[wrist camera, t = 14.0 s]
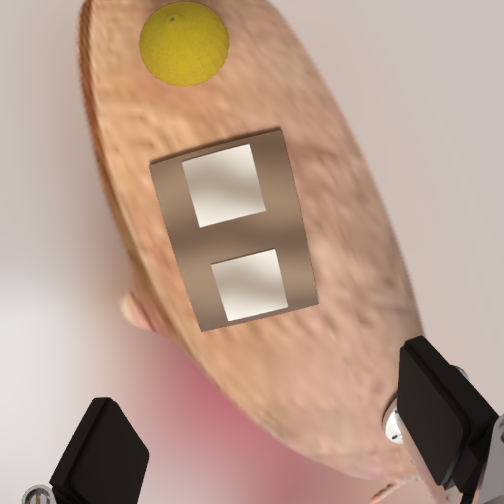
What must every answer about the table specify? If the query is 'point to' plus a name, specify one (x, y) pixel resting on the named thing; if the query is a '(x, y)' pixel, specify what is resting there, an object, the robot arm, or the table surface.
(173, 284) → the table surface
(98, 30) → the table surface
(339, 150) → the table surface
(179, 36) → the lemon
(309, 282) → the label board
